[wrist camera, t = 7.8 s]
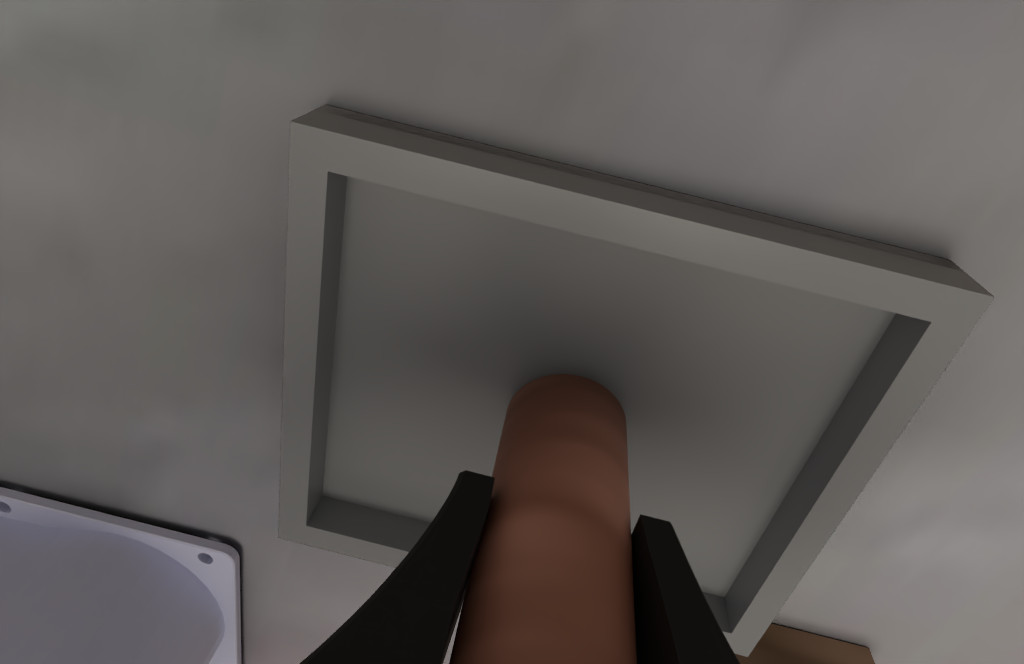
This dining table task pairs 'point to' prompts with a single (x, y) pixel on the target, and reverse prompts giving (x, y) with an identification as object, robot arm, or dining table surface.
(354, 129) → the tray
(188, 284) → the dining table surface
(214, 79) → the dining table surface
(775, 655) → the collar
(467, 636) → the dowel
